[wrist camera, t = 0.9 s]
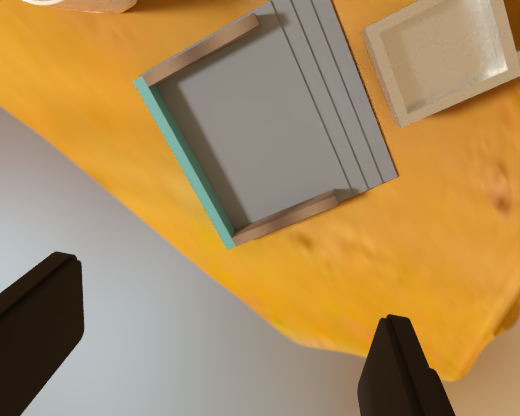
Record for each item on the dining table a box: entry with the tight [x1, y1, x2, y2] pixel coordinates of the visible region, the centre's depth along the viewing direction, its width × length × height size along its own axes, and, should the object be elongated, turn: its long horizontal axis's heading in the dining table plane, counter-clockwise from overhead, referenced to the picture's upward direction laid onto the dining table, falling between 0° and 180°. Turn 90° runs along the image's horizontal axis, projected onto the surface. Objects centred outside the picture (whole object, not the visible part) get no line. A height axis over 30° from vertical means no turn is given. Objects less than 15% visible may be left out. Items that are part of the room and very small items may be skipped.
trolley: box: [361, 0, 520, 128], centre depth 29 cm, size 13×8×5 cm, turn 116°
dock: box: [133, 0, 398, 250], centre depth 34 cm, size 18×19×3 cm
